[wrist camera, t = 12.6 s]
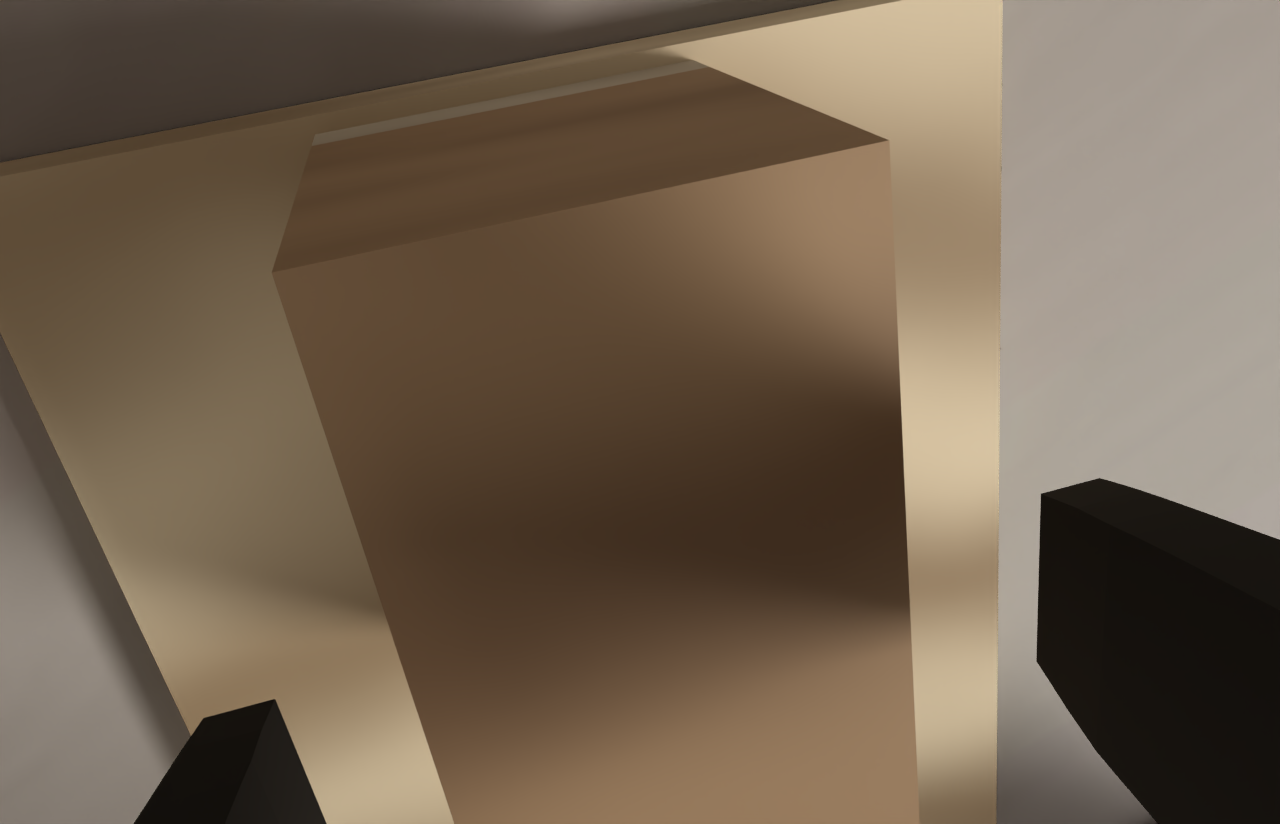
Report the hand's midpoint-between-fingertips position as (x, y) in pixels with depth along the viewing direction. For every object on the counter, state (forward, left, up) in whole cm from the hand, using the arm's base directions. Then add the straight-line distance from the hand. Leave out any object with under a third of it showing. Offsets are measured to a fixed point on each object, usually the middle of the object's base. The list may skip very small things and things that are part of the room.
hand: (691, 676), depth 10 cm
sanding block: (0, 0, -7) cm, 7 cm away
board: (-4, 0, -8) cm, 9 cm away
